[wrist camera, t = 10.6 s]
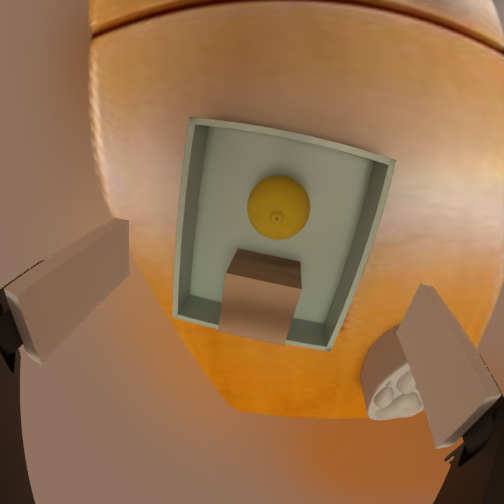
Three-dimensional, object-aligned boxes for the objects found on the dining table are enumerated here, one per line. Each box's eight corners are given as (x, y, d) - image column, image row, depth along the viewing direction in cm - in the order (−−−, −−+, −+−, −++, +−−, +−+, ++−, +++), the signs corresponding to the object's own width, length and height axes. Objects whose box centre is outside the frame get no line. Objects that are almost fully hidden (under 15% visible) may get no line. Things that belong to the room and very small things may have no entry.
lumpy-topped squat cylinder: (354, 386, 38) (361, 430, 30) (375, 321, 33) (391, 368, 25) (412, 382, 37) (425, 422, 29) (440, 319, 32) (464, 360, 24)
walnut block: (237, 248, 31) (225, 272, 25) (300, 261, 31) (301, 289, 25) (229, 300, 34) (217, 331, 28) (286, 313, 33) (283, 345, 28)
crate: (206, 120, 26) (189, 117, 22) (379, 156, 25) (395, 160, 21) (186, 294, 35) (172, 317, 30) (326, 325, 34) (330, 351, 29)
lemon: (259, 227, 30) (247, 257, 22) (248, 176, 28) (232, 188, 20) (311, 220, 29) (318, 248, 21) (303, 167, 27) (307, 176, 19)
